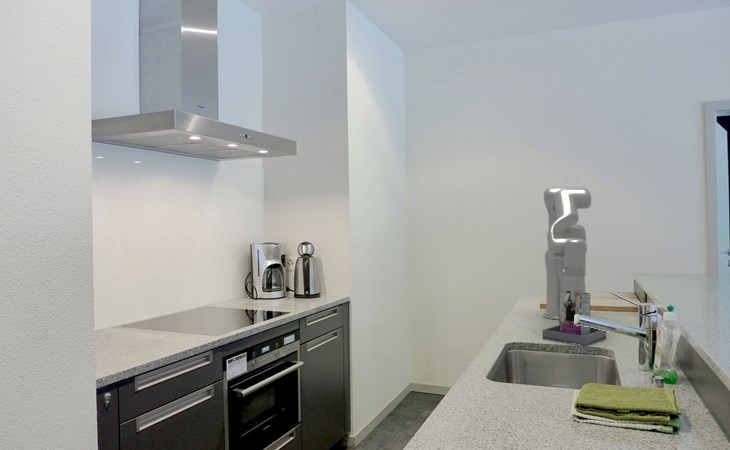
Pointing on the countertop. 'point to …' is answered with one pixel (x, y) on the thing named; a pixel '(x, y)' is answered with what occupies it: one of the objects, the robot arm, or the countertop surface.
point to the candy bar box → (580, 308)
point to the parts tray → (574, 336)
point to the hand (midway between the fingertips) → (574, 319)
